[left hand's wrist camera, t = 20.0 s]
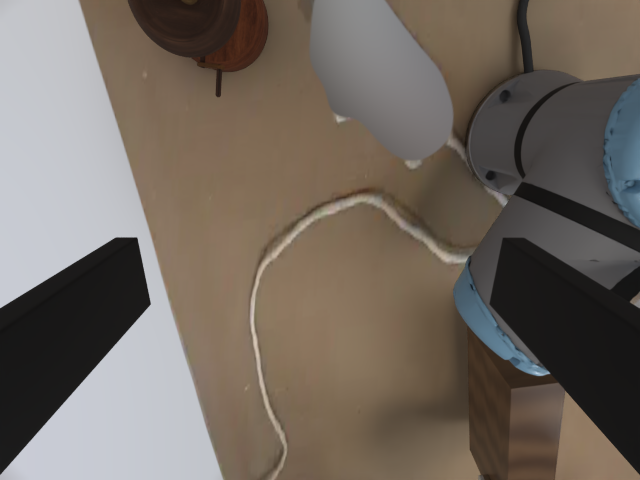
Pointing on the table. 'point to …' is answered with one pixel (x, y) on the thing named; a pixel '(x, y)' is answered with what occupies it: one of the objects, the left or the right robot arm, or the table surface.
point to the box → (512, 417)
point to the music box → (206, 30)
